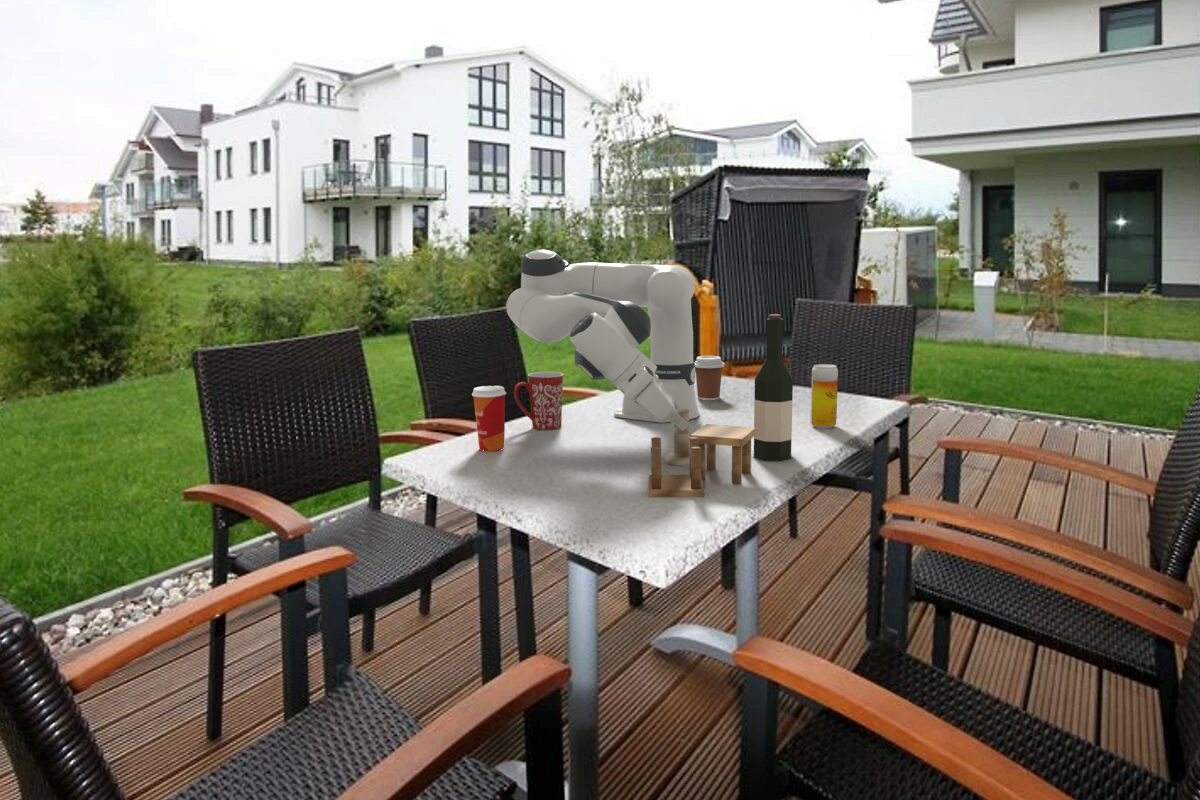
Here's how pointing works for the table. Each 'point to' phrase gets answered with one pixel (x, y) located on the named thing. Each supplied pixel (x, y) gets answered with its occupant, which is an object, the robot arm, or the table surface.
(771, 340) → the wine bottle
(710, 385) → the coffee cup
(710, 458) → the stool
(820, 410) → the beer can
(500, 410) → the paper cup
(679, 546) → the table surface
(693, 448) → the upturned stool
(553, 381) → the mug
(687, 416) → the ring stacker tower
